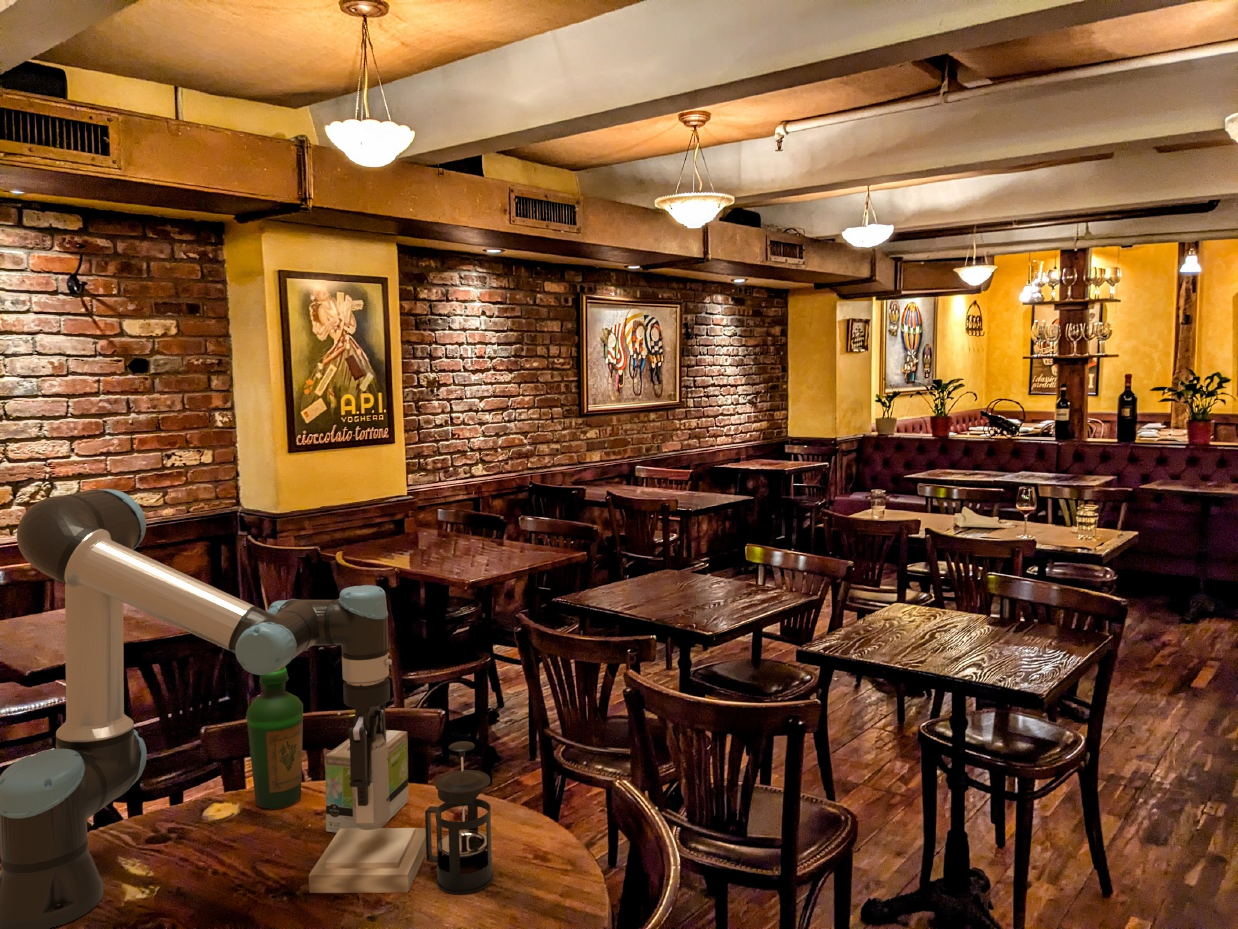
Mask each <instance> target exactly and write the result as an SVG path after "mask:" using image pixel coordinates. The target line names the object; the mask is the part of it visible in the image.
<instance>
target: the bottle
mask: <svg viewBox="0 0 1238 929" xmlns="http://www.w3.org/2000/svg"><path fill="white" fill-rule="evenodd" d="M289 679H290V678H289V675H288V671H287V667H286V666H285V667H283V668H280V669H278V670H276V671H274V672H272V673H269V674H265V675H259V680H258V681H259V684H260V685H262V686H261V687H262V692H263V693H262V694H260V695H259V696H257V697H256V698H255V699H253V700H252V701H251V703H250V705H249V707H248V708H247V711H246V713H245V716H246V723H247V724H246V725H247V734H248V744H249V745H248V746H249V754H250V762H251V772H252V773H251V774H252V781H253V793H254V801H255V805H257V806H258V807H260V808H262V809H267V808H268V810H269V809H270V810H276V808H277V809H283V808H286V807H289V806H292V805H294V804H295V803H296V802H298V801H300V800H301V797H302V779H303V778H302V777H303V776H302V772H303V771H302V770H303V769H302V767H303V764H302V762H303V730H304V728H303V727H304V726H303V725H304V724H303V722H304V721H303V720H304V703H303V702H302V701H301V699H300V697H298V696H296V695H294V694H293V693H291V692H288V691H286V682H288V681H289Z"/></svg>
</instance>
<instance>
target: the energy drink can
mask: <svg viewBox="0 0 1238 929" xmlns="http://www.w3.org/2000/svg"><path fill="white" fill-rule="evenodd" d="M383 737H384V736H383V734H382V733H380V734H376V740H375V742H373V743H372V751H371V759H372V765H371V783H373V801H374V822H373V823H357V818H356V791H355V787H352V800H353V821H354V823H355V824H357V827H358V828H359V829H362V830H374V829H378V828H381V827H382V828H384V826H386V824H388V822H387V820H388V819H389V817H390V803H389V774H388V746H387V743H386V741H385V740H384V738H383ZM367 738H370V737H367Z"/></svg>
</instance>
